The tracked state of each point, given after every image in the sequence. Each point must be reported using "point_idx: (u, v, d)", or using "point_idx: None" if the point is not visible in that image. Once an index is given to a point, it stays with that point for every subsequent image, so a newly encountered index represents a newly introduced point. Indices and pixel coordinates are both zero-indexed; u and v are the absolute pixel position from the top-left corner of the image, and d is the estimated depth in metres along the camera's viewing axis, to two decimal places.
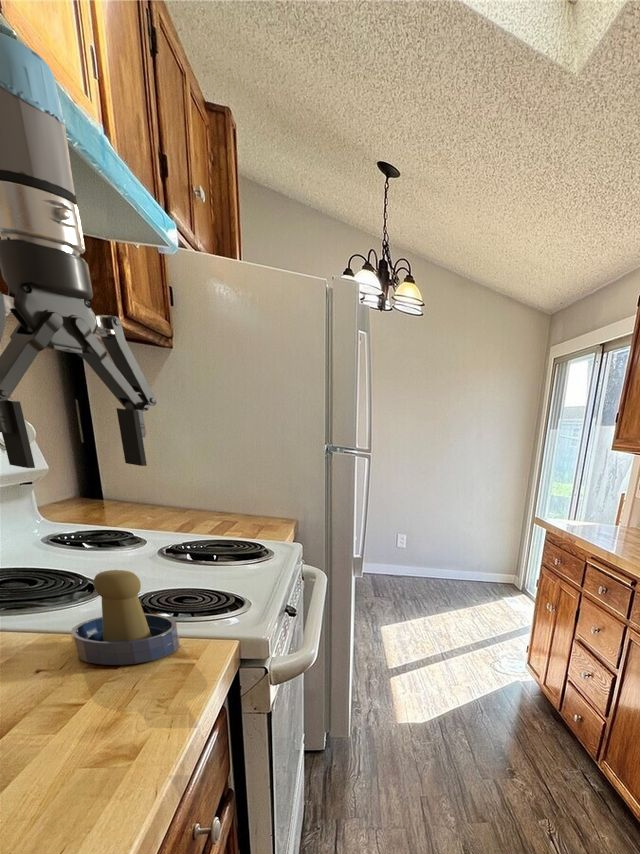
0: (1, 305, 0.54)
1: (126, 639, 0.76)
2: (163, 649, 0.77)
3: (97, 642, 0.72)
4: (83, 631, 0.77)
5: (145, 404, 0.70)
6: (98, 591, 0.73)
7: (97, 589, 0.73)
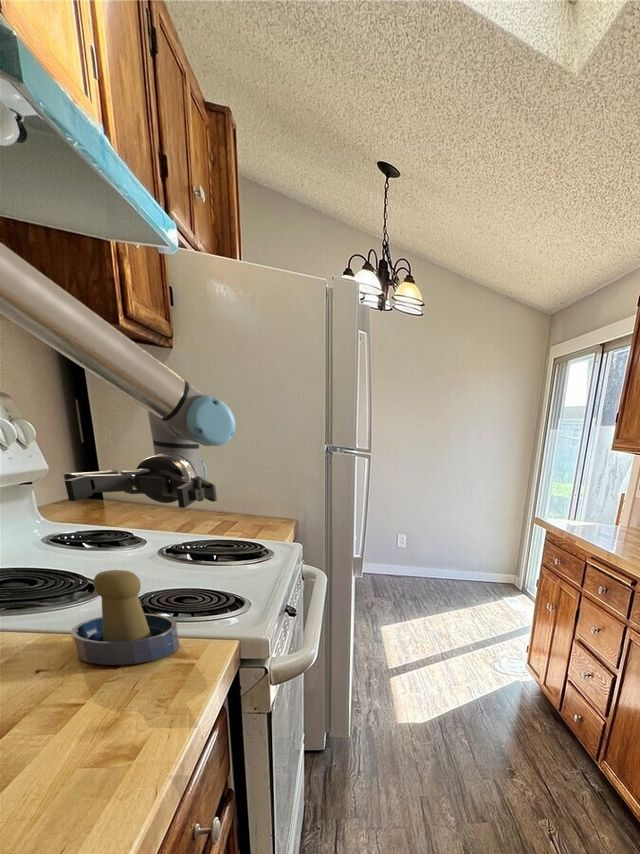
0: None
1: (126, 639, 0.76)
2: (163, 649, 0.77)
3: (97, 642, 0.72)
4: (83, 631, 0.77)
5: None
6: (98, 591, 0.73)
7: (97, 589, 0.73)
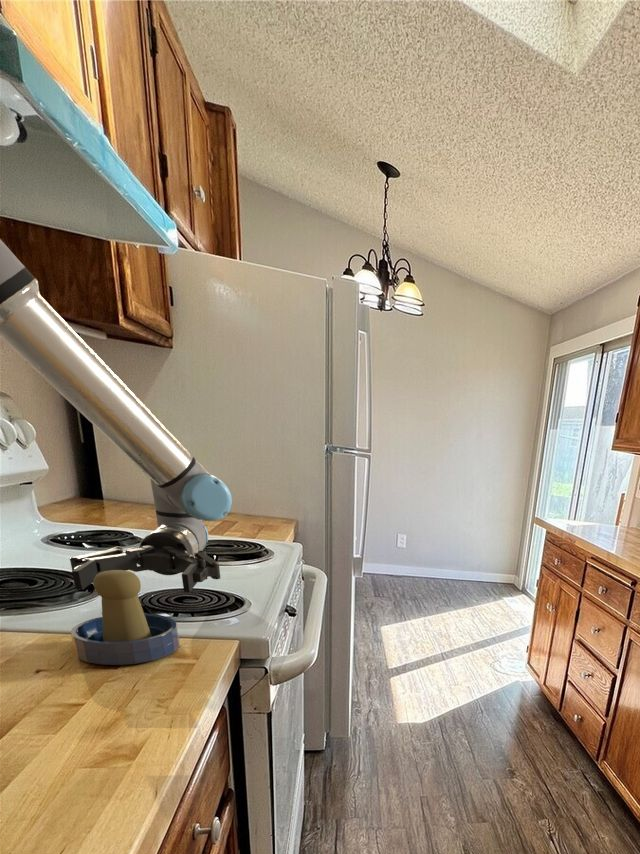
0: None
1: (126, 639, 0.76)
2: (163, 649, 0.77)
3: (97, 642, 0.72)
4: (83, 631, 0.77)
5: None
6: (98, 591, 0.73)
7: (97, 589, 0.73)
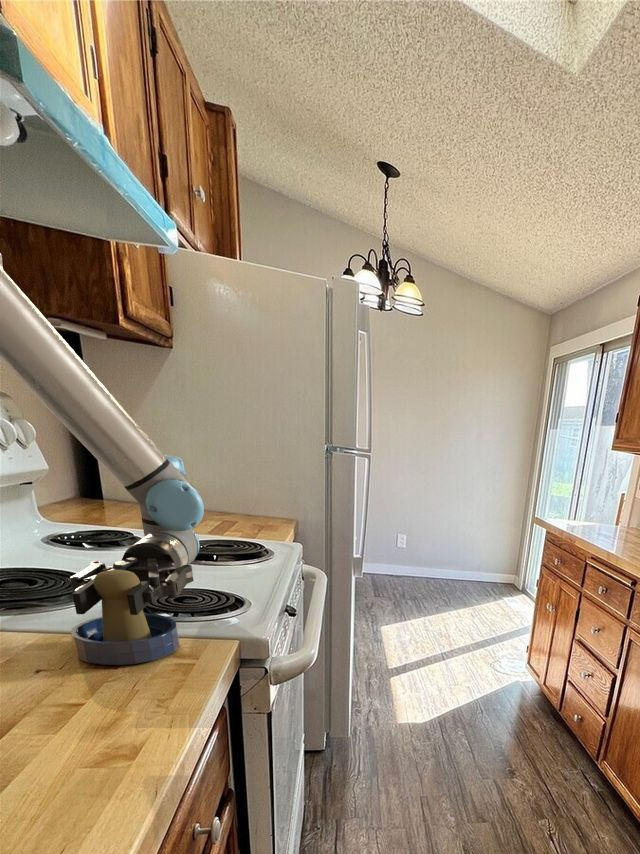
0: None
1: (126, 639, 0.76)
2: (163, 649, 0.77)
3: (97, 642, 0.72)
4: (83, 631, 0.77)
5: None
6: (98, 591, 0.73)
7: (97, 589, 0.73)
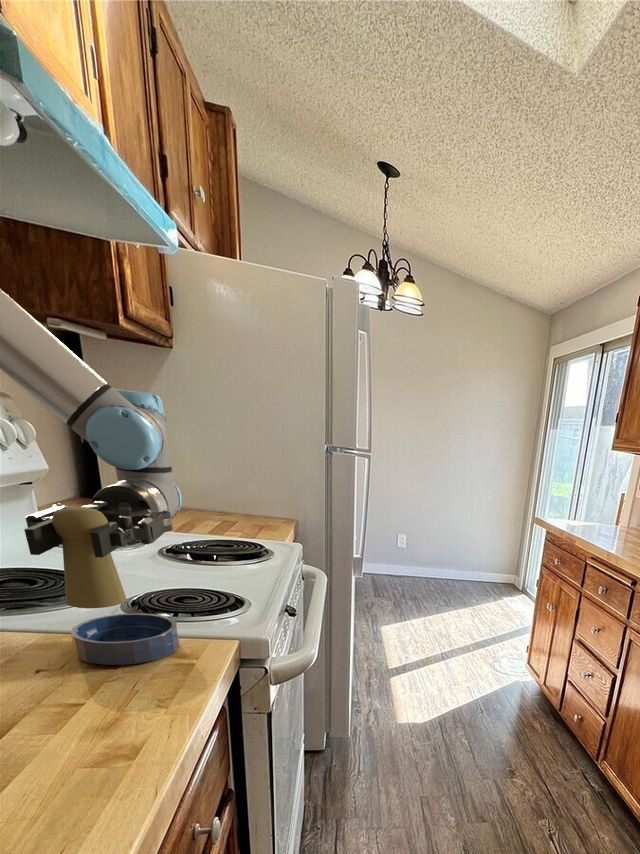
0: None
1: (92, 588, 0.65)
2: (163, 649, 0.77)
3: (97, 642, 0.72)
4: (83, 631, 0.77)
5: None
6: (57, 530, 0.62)
7: (56, 528, 0.62)
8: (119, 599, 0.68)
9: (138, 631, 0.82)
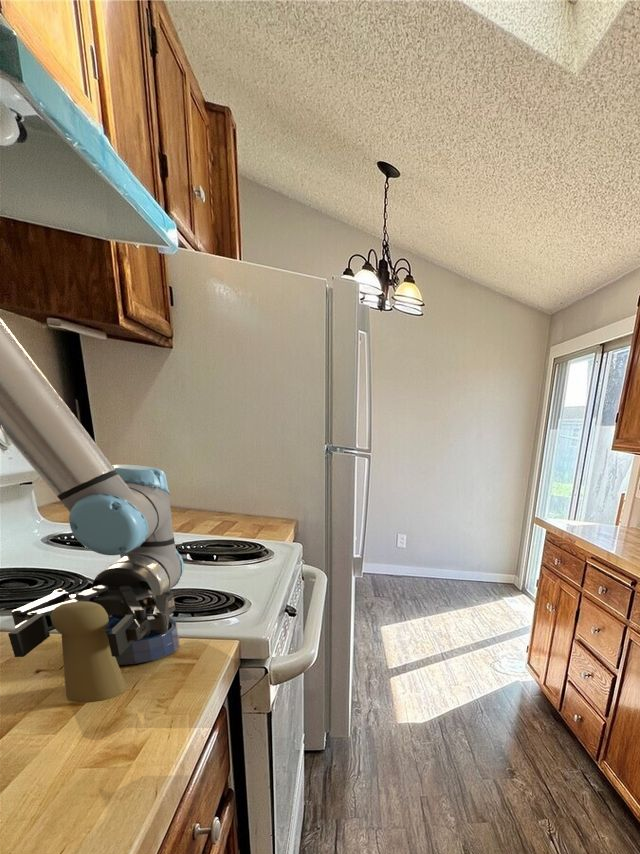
0: None
1: (91, 682, 0.65)
2: (163, 649, 0.77)
3: None
4: None
5: None
6: (56, 628, 0.62)
7: (55, 625, 0.62)
8: (119, 689, 0.67)
9: None
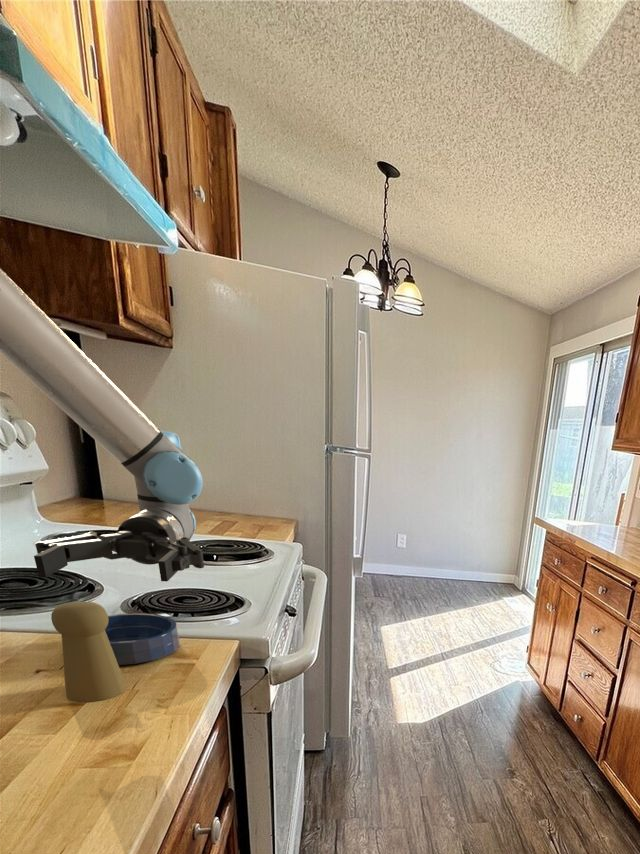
0: None
1: (91, 682, 0.65)
2: (163, 649, 0.77)
3: None
4: None
5: None
6: (56, 628, 0.62)
7: (55, 625, 0.62)
8: (119, 689, 0.67)
9: (138, 631, 0.82)
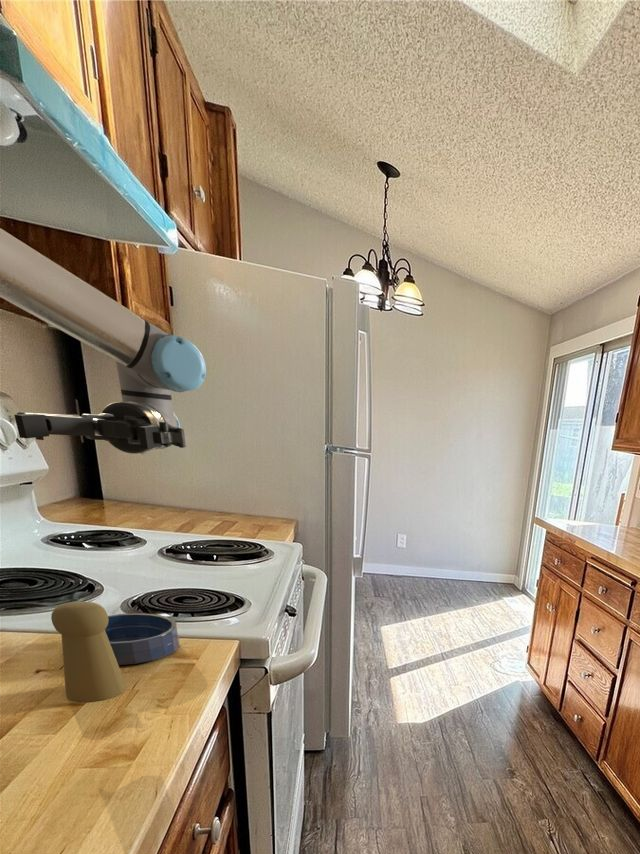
0: None
1: (91, 682, 0.65)
2: (163, 649, 0.77)
3: None
4: None
5: None
6: (56, 628, 0.62)
7: (55, 625, 0.62)
8: (119, 689, 0.67)
9: (138, 631, 0.82)
